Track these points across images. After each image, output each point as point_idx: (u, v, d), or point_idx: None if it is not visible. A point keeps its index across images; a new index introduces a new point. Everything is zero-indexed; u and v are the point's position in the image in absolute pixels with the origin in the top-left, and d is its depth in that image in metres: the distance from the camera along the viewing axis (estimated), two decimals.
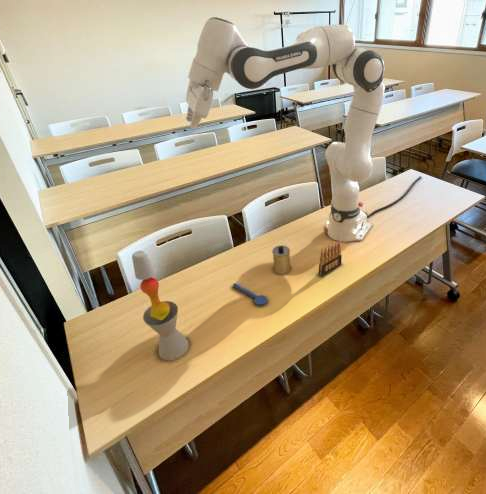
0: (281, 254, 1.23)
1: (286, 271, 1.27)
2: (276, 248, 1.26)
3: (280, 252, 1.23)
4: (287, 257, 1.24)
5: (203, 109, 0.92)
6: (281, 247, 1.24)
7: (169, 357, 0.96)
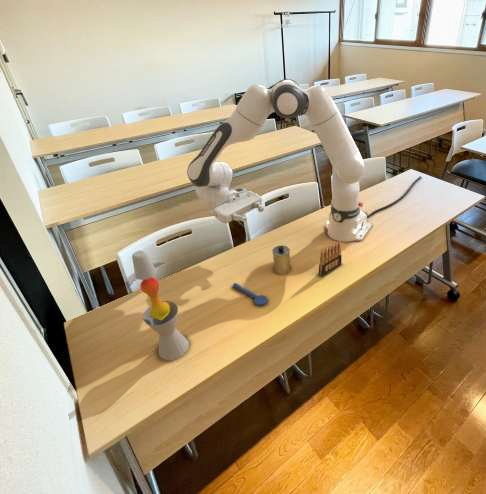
0: (281, 254, 1.23)
1: (286, 271, 1.27)
2: (276, 248, 1.26)
3: (280, 252, 1.23)
4: (287, 257, 1.24)
5: (220, 217, 1.21)
6: (281, 247, 1.24)
7: (169, 357, 0.96)
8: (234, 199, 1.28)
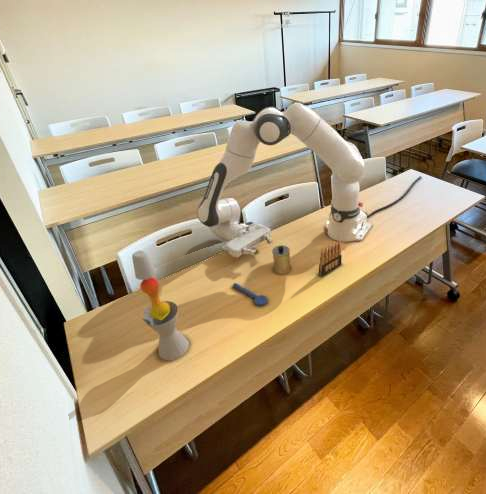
0: (281, 254, 1.23)
1: (286, 271, 1.27)
2: (276, 248, 1.26)
3: (280, 252, 1.23)
4: (287, 257, 1.24)
5: (231, 252, 1.28)
6: (281, 247, 1.24)
7: (169, 357, 0.96)
8: (244, 233, 1.36)
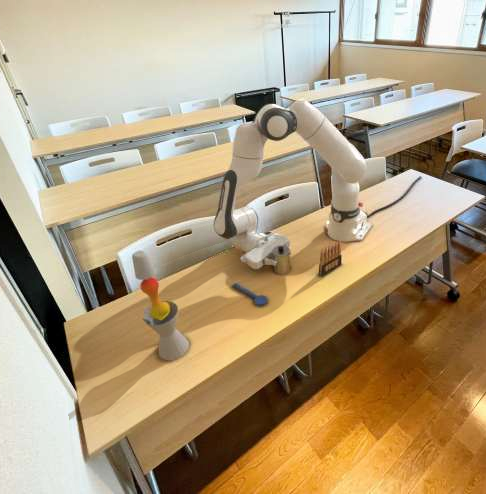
0: (281, 254, 1.23)
1: (286, 271, 1.27)
2: (276, 248, 1.26)
3: (280, 252, 1.23)
4: (287, 257, 1.24)
5: (251, 264, 1.23)
6: (281, 247, 1.24)
7: (169, 357, 0.96)
8: (263, 243, 1.31)
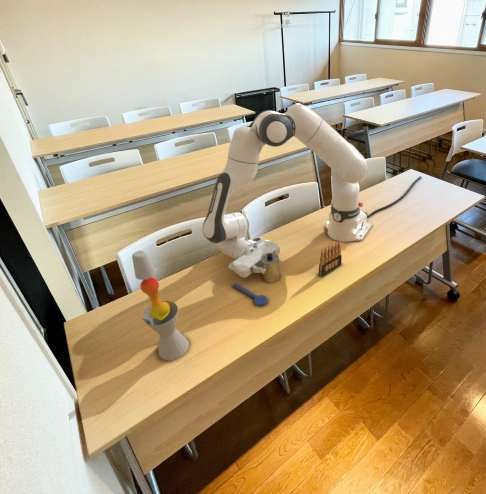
0: (270, 261, 1.19)
1: (275, 279, 1.23)
2: (265, 255, 1.22)
3: (269, 260, 1.20)
4: (276, 265, 1.20)
5: (239, 272, 1.19)
6: (270, 255, 1.20)
7: (169, 357, 0.96)
8: (252, 250, 1.27)
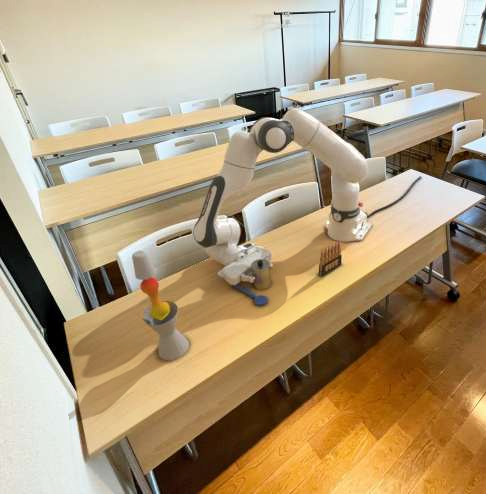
0: (260, 268, 1.16)
1: (266, 286, 1.20)
2: (255, 262, 1.19)
3: (259, 267, 1.16)
4: (267, 272, 1.17)
5: (228, 279, 1.16)
6: (260, 261, 1.17)
7: (169, 357, 0.96)
8: (242, 257, 1.24)
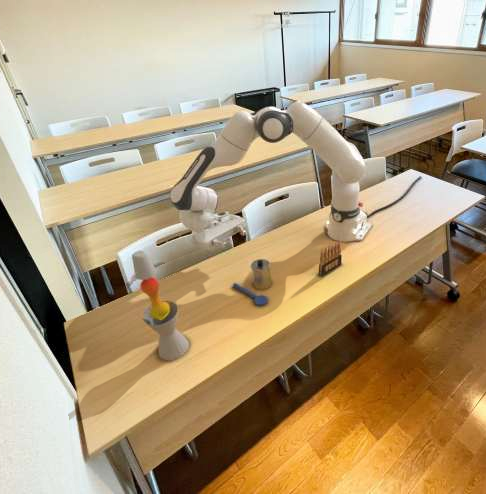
0: (260, 268, 1.16)
1: (266, 286, 1.20)
2: (255, 262, 1.19)
3: (259, 267, 1.16)
4: (267, 272, 1.17)
5: (200, 244, 1.17)
6: (260, 261, 1.17)
7: (169, 357, 0.96)
8: (216, 224, 1.25)
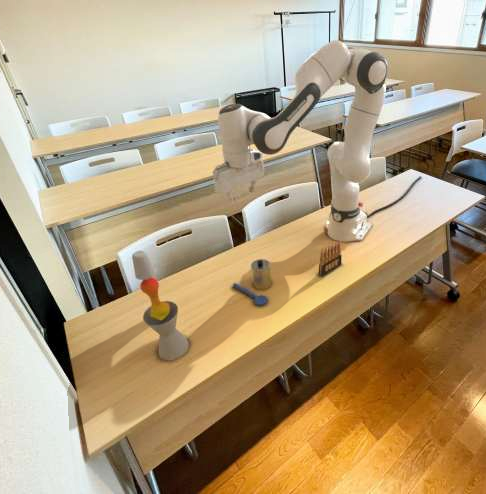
0: (260, 268, 1.16)
1: (266, 286, 1.20)
2: (255, 262, 1.19)
3: (259, 267, 1.16)
4: (267, 272, 1.17)
5: (217, 188, 1.07)
6: (260, 261, 1.17)
7: (169, 357, 0.96)
8: None
